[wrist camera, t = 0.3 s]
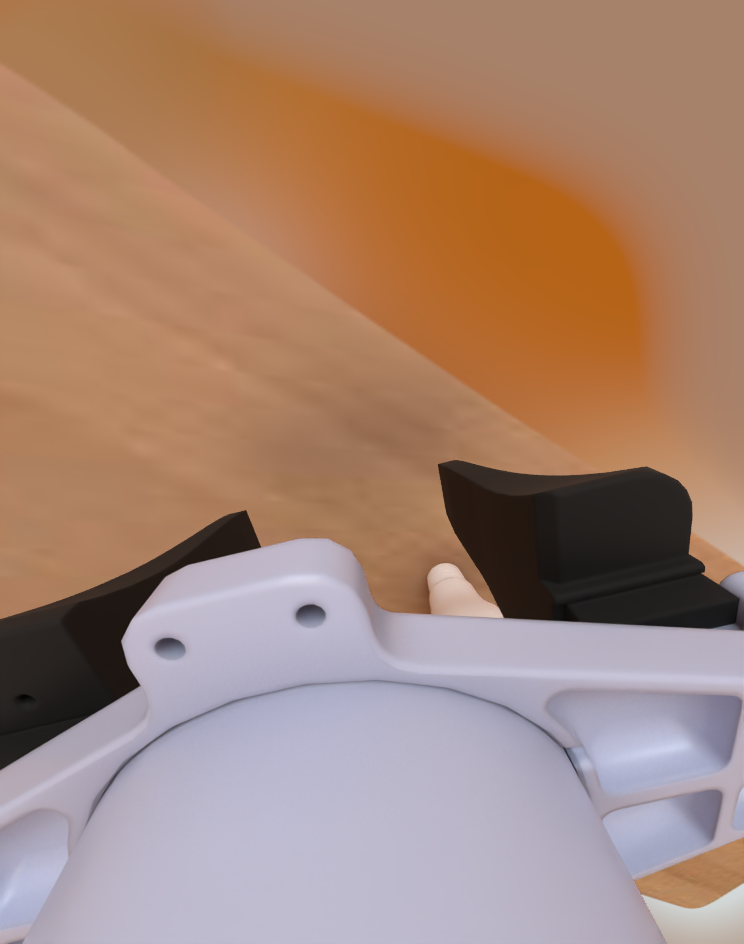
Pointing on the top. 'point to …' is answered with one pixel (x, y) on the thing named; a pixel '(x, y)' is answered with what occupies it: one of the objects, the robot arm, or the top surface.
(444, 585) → the lightbulb
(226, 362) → the top surface
